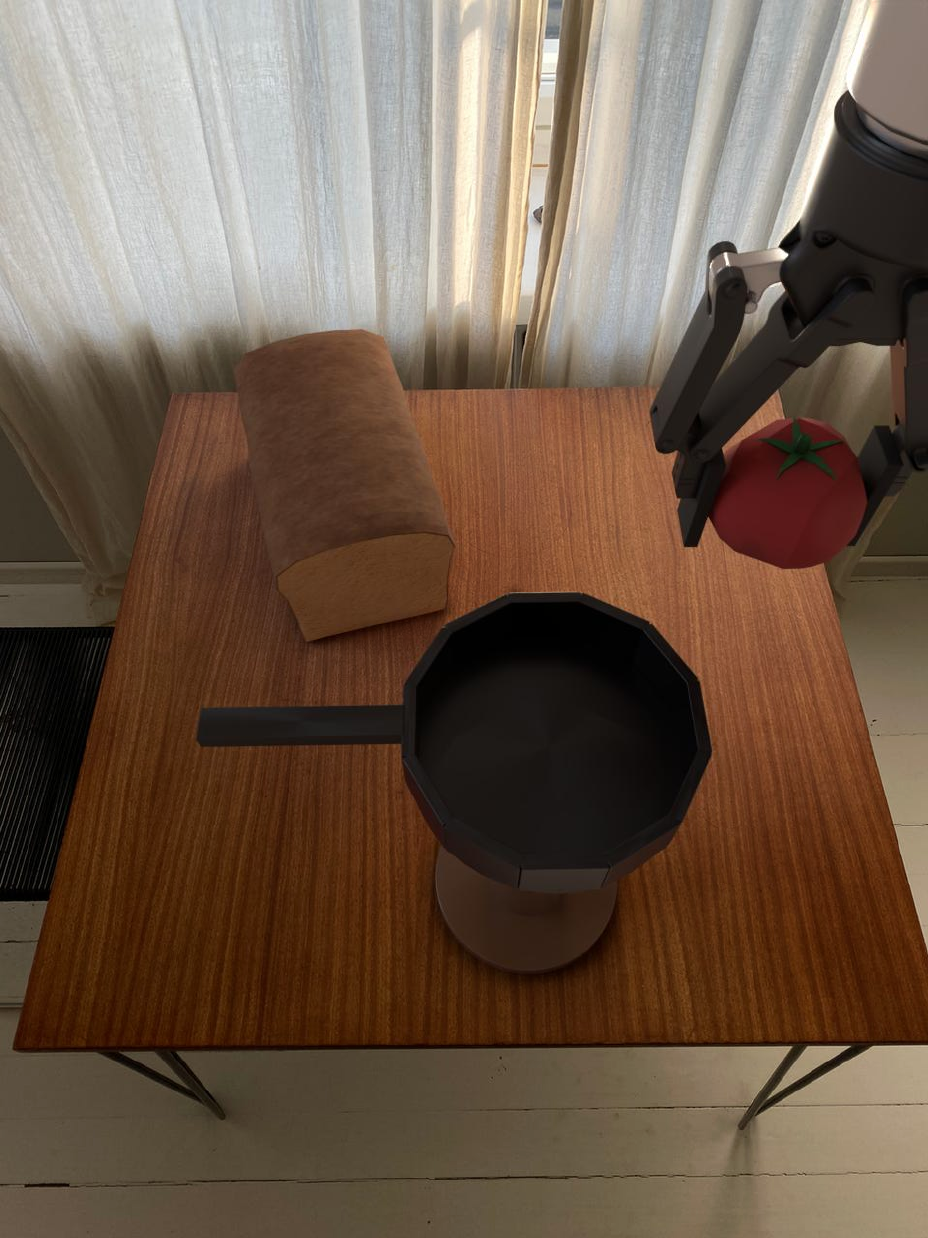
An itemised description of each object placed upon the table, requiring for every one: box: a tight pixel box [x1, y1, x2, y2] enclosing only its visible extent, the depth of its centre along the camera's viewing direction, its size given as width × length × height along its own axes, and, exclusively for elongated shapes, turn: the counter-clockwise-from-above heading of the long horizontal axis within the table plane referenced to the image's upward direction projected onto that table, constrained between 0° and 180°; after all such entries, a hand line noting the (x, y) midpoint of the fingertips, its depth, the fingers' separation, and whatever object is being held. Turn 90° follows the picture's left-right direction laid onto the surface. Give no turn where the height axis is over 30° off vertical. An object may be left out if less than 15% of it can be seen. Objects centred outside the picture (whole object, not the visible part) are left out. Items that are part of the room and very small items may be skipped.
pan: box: [195, 591, 713, 975], centre depth 64 cm, size 18×29×33 cm, turn 91°
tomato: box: [708, 417, 867, 570], centre depth 46 cm, size 8×8×7 cm
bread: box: [233, 328, 456, 643], centre depth 93 cm, size 18×30×16 cm, turn 15°
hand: (764, 527), depth 49 cm, fingers closed on tomato, 8 cm apart
